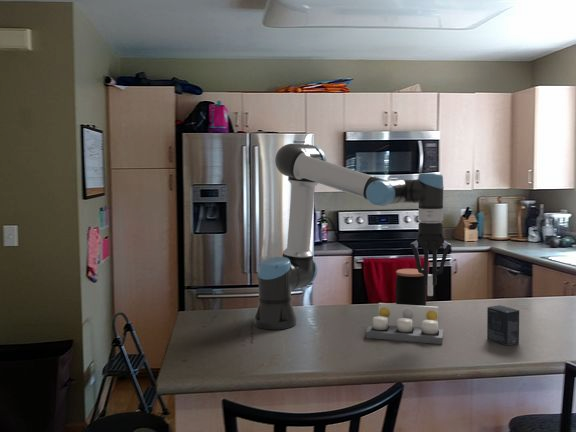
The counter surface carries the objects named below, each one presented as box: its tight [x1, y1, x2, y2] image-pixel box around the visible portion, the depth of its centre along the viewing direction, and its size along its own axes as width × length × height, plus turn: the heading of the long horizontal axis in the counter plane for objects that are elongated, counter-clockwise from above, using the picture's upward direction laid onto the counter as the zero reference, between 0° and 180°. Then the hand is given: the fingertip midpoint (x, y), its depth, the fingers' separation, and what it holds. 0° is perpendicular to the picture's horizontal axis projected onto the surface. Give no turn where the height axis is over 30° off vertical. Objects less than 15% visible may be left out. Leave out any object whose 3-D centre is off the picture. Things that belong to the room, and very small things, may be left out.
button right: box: [422, 320, 439, 334], centre depth 167 cm, size 5×5×3 cm
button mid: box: [397, 318, 412, 332], centre depth 170 cm, size 5×5×3 cm
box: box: [486, 304, 520, 346], centre depth 163 cm, size 8×6×11 cm
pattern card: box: [378, 302, 439, 328], centre depth 179 cm, size 20×1×8 cm, turn 71°
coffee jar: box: [395, 268, 427, 306], centre depth 188 cm, size 11×11×18 cm
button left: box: [372, 315, 388, 330], centre depth 172 cm, size 5×5×3 cm
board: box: [365, 323, 444, 345], centre depth 170 cm, size 24×9×2 cm, turn 71°
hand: (430, 294), depth 166 cm, fingers closed
